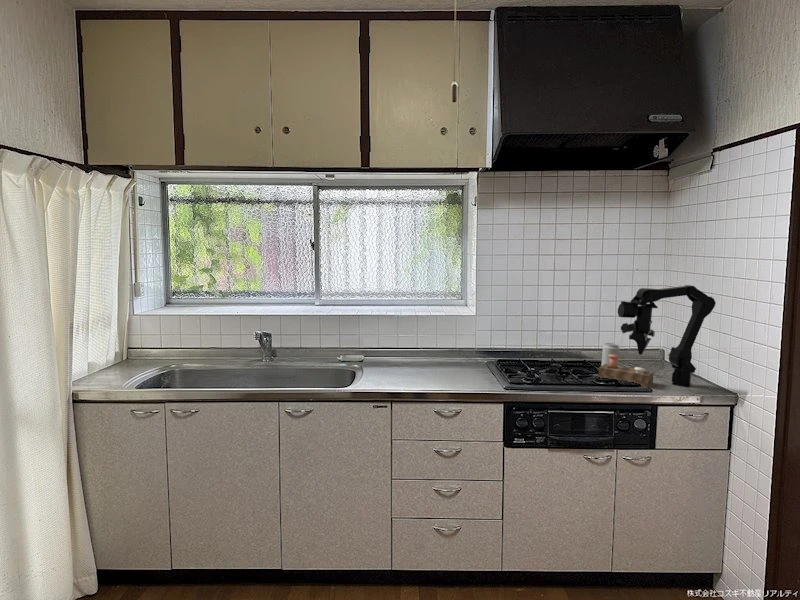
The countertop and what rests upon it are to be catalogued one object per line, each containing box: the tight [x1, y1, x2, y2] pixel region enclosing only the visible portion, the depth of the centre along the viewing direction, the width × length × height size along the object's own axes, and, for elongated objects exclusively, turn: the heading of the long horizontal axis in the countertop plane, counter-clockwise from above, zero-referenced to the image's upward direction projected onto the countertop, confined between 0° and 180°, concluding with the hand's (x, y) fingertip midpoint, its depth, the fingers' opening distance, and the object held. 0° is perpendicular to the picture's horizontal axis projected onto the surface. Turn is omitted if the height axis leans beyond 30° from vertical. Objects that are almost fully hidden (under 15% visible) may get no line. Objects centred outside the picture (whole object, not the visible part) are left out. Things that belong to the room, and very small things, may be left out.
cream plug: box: [634, 366, 646, 374], centre depth 220 cm, size 4×4×6 cm
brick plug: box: [609, 354, 620, 369], centre depth 226 cm, size 4×4×6 cm
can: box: [600, 342, 621, 367], centre depth 246 cm, size 8×8×12 cm
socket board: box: [597, 364, 655, 389], centre depth 223 cm, size 20×10×5 cm, turn 53°
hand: (640, 354), depth 219 cm, fingers closed
